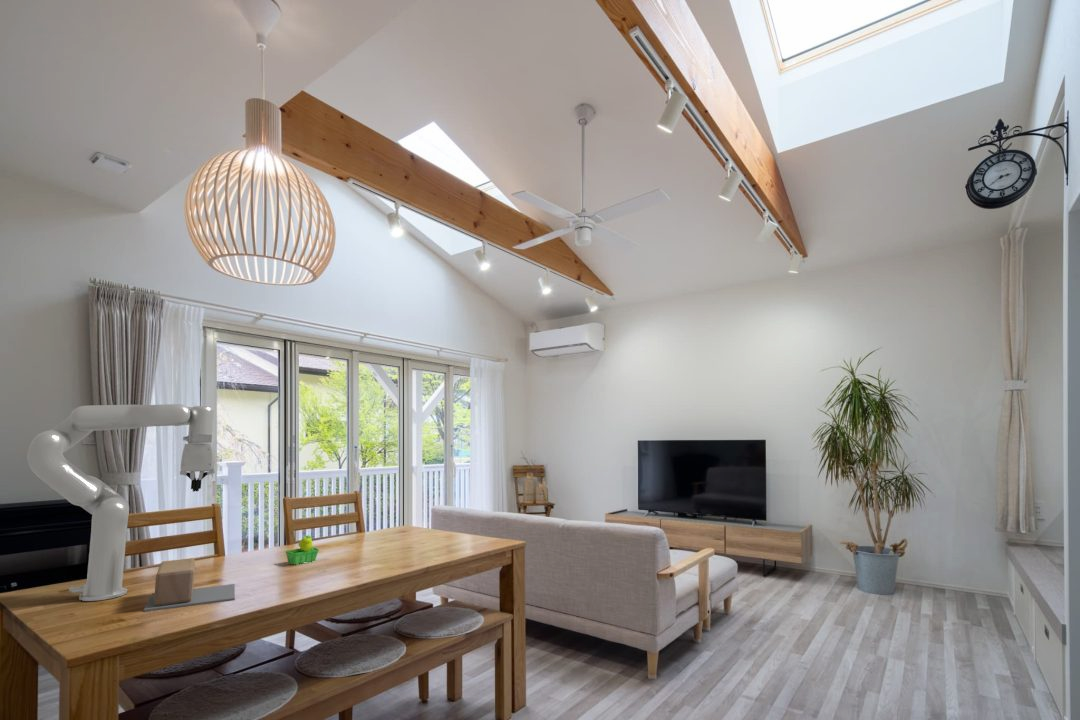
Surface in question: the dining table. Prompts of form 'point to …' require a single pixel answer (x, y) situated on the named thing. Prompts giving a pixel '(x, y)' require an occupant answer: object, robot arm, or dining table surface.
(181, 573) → the wooden block
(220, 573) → the dining table surface
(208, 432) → the robot arm
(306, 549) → the fruit basket
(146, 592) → the dining table surface
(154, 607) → the mat
